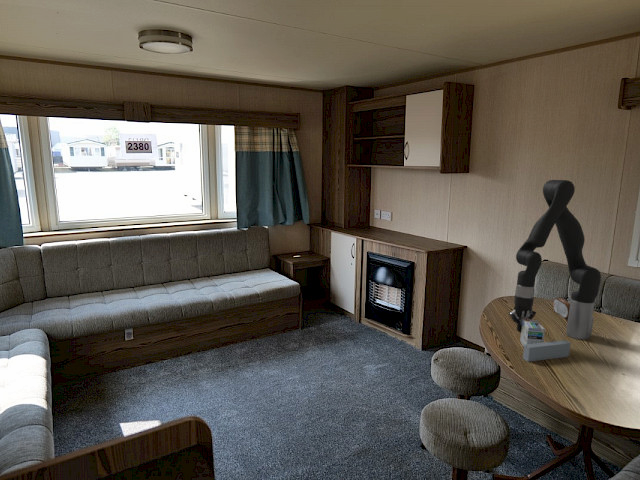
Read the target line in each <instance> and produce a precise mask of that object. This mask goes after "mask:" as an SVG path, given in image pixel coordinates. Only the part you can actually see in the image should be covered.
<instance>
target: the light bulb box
mask: <svg viewBox="0 0 640 480" xmlns="http://www.w3.org/2000/svg"><path fill="white" fill-rule="evenodd" d="M545 331H546V328H545V327H544V326H543V325H542V324H541V323H540V321H539V320H538V319H531V320H530V319H523V320H522V329H521V332H520V339H519V340H520V341H519V342H520V344H521V345H522V347H523V348H524V345H525V344H534V343H543V342H544V340H545Z"/></svg>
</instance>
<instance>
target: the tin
mask: <svg viewBox="0 0 640 480" xmlns="http://www.w3.org/2000/svg"><path fill="white" fill-rule="evenodd" d="M552 303H553V306H552V309H553V310H554V313H556V314H557V315H559V316H560V317H562V318H563V319H567V320H568V316H569V309H570V301H567V300H566V299H564V298H562V297H555V298H554V299H553V302H552Z"/></svg>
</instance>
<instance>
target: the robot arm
mask: <svg viewBox="0 0 640 480" xmlns="http://www.w3.org/2000/svg"><path fill="white" fill-rule="evenodd" d="M542 194H543V197H544V199H545V202H546V204H547V206H548V209H547V210H546V211H545V212H544V213H543V214H542V216H541V217H540V218H538V220H536V222H535V224H534V225H533V227H532V229H531V231H530V232H529V234H528V238H527V239H526V240H525V241H524V242H523V244H522V245H521V247H519V249H518V250H517V252H516V255H515V259H516V262H517V263H518V264H519V265H521V266H525V267H526V268H525V270H520V271H519V272H518V274H517V281H516V285H515V293H514V301H513V302H514V308H513V310H512V311H509V312H508V315H509V317H510V318H511V320H512V322H514V323H516V330H517V332H519V333H521V329H522V320H523V319H530V320H533V318H534V317H535V315H536V314H537V312H536V311H534V310H533V306H534V300H535V298H534V297H535V291H536V289H535V285H536V277H537V275H538V272H539V270H540V268H541V265H542V262H543V259H542V255H541V254H540V253H539V252H537V251H535V250H536V249H537V248H543V247H544V246H545V245H546V243H547V240H548V239H549V236H550V234H551V232H552V230H553V228H554V226H556V230H557V233H558V237H559V240H560V242H561V245H562V248H563V251H564V254H565V258H566V262H567V266H568V271H569V276H570V278H571V280H572V282H574V283H575V284H577V285H579V288H578V291H577V290H575V291H572V293H571V295H570V301H569V303H570V309H569V316H568V319H567V325H566V331H565V334H566V335H567V336H568V337H569V338H570V337H571V338H573V339H577V340H588V339H590V338H592V333H593V326H594V317H593V314H594V308H595V307H594V306H595V301H596V298H597V297H598V294H599V290H600V285H601V281H602V280H601V277H602V274H601V272H600V270H599V269H598V268H595V267H592V266H590V265H588V264H587V263H586V261H585V258H584V255H583V249H584V246H585V234H584V231H583V230H584V229H583V228H582V225H581V223H580V222H579V220H578V219H577V218H576V217H575V215H574V214H573V213H572V212H571V211H570V210H569V208H568V207H567V206H568V204H570V202H571V200H572V198H573V197H574V194H575V185H574V183H573V182H572V181H571V180H565V179H550V180H548V181H545V183H544V184H543V187H542Z"/></svg>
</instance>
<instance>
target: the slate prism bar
mask: <svg viewBox="0 0 640 480" xmlns="http://www.w3.org/2000/svg"><path fill="white" fill-rule="evenodd" d="M570 349H571V342H570V341H568V340H566V339H561V340H553V341H545V342H543V343H534V344H525V345H524V347H523V354H522V359H523V360H525V361H526V362H527V363H528V362H536V361H544V360H551V359H552V360H553V359H559V358H567V357H569V356H570V351H571V350H570Z"/></svg>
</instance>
